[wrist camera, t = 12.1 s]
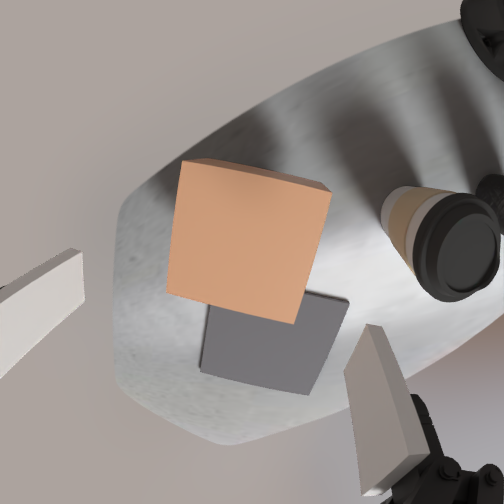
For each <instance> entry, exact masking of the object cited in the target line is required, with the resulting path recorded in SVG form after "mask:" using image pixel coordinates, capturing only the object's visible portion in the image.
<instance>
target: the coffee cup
mask: <svg viewBox="0 0 504 504" xmlns="http://www.w3.org/2000/svg"><path fill="white" fill-rule="evenodd" d="M381 224H382V227H383V230H384V231H385V233H386V234H387V236H388V237H389V238H390V240H391V242H392V244H393V246H394V247H395V249H396V250H397V251H398V253H399V254H400V256H401V257H402V258H403V260H404V261H405V263H406V264H407V265H408V267H409V268H410V270H411V271H412V272H413V274H414V275H415V276H416V278H417V280H418V282H419V284H420V285H421V286H422V288H423V289H424V290H425V291H426V292H428V293H429V294H430V295H431V296H432V297H434V298H435V299H437V300H439V301H442V302H456V301H460V300H463V299H465V298H467V297H469V296H470V295H472V294H473V293H475V292H476V291H478V290H481V289H483V288H485V287H486V286H488V285H489V284H490V283H491V281H492V280H493V278H494V277H495V275H496V273H497V271H498V268H499V264H500V243H501V233H500V226H499V222H498V219H497V216H496V214H495V212H494V211H493V209H492V208H491V207H490V206H489V205H488V204H487V203H486V202H485V201H483V200H481V199H479V198H478V197H476V196H474V195H472V194H468V193H456V192H452V191H446V190H440V189H433V188H427V187H411V186H403V187H399V188H397V189H395V190H394V191H392V192H391V193H390V194H389V195H388V196H387V198H386V199H385V201H384V203H383V205H382V209H381Z"/></svg>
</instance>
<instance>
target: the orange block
mask: <svg viewBox="0 0 504 504" xmlns="http://www.w3.org/2000/svg"><path fill="white" fill-rule="evenodd" d="M331 196H332V192H331V191H330V190H329V189H328V188H327V187H325V186H324V185H323V184H322V183H321V182H317V181H313V180H309V179H305V178H301V177H297V176H293V175H289V174H284V173H280V172H275V171H271V170H266V169H262V168H257V167H252V166H247V165H243V164H237V163H232V162H227V161H222V160H216V159H211V158H203V159H193V160H184V161H182V165H181V171H180V178H179V184H178V191H177V198H176V205H175V213H174V220H173V228H172V237H171V246H170V256H169V266H168V277H167V289H166V293H169V294H173V295H176V296H180V297H183V298H187V299H191V300H195V301H198V302H202V303H206V304H210V305H214V306H217V307H221V308H225V309H229V310H233V311H238V312H242V313H246V314H250V315H254V316H259V317H263V318H267V319H272V320H276V321H281V322H285V323H290V324H294V322H295V319H296V316H297V313H298V310H299V307H300V304H301V301H302V297H303V294H304V291H305V288H306V285H307V281H308V278H309V275H310V272H311V268H312V265H313V261H314V258H315V255H316V251H317V248H318V244H319V241H320V237H321V234H322V230H323V226H324V223H325V219H326V215H327V212H328V208H329V204H330V200H331Z"/></svg>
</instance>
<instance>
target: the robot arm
mask: <svg viewBox="0 0 504 504" xmlns="http://www.w3.org/2000/svg"><path fill="white" fill-rule="evenodd" d="M460 14H461V20H462V24H463V27H464V30H465V33H466V35H467V37H468V39H469V41H470V43H471V45H472V47H473V48H474V50H475V51H476V53H477V54H478V56H479V57H480V59H481V60H482V61H483V62H484V64H485V65H486V66H487V67H488V68H489V69H490V70H491V71H492V72H493V73H494V74H495V75H496V76H497V77H498V78H500V79H501V80H502V81H504V0H463V1H462V4H461V9H460ZM84 301H85V297H84V284H83V264H82V251H78V250H75V249H73V248H70V249H68V250H66V251H64V252H62V253H60V254H59V255H57V256H55V257H53V258H52V259H50V260H48V261H46V262H45V263H43V264H41V265H39V266H38V267H36V268H34V269H33V270H31V271H29V272H28V273H26V274H24V275H23V276H21V277H19V278H18V279H16V280H14V281H13V282H11V283H10V284H8V285H6V286H3V287H1V288H0V379H1V378H2V377H3V376H4V375H5V374H6V373H7V372H8V371H9V370H10V369H11V368H12V367H13V366H14V365H15V364H16V363H17V362H18V361H19V360H20V359H21V358H22V357H23V356H24V355H25V354H26V353H27V352H28V351H29V350H31V349H32V348H33V347H34V346H35V345H36V344H37V343H38V342H39V341H40V340H41V339H43V338H44V337H45V336H46V335H47V334H48V333H49V332H50V331H51V330H52V329H54V328H55V327H56V326H57V325H58V324H59V323H60V322H61V321H63V320H64V319H65V318H66V317H67V316H68V315H69V314H71V313H72V312H73V311H74V310H75V309H76V308H78V307H79V306H80V305H81V304H82V303H84ZM344 376H345V381H346V387H347V393H348V398H349V404H350V411H351V417H352V423H353V430H354V437H355V444H356V452H357V459H358V468H359V476H360V485H361V496H373V495H382V494H383V493H385V492H386V491H387V490H389V489H390V488H391V489H392V496H391V497H389V498H388V499H386V500H385V501H384V502H382V503H381V504H503V500H504V477H503V474H502V472H501V470H500V469H499V468H498V467H497V466H495V465H493V464H486V465H484V466H483V467H482V468H481V469H480V470H478V471H477V472H472V471H465V470H461V467H460V465H459V464H458V462H456V461H455V460H454V459H453V458H450V457H447V456H444V454H443V451H442V448H441V445H440V442H439V439H438V436H437V434H436V431H435V428H434V425H432V420H431V418H430V417H429V413H428V410H427V407H426V405H425V403H424V402H423V401H422V400H421V398H420V397H419V396H418V395H417V394H410V393H409V390H408V388H407V385H406V383H405V380H404V377H403V375H402V372H401V370H400V367H399V365H398V363H397V360H396V358H395V355H394V353H393V351H392V348H391V346H390V344H389V341H388V339H387V337H386V335H385V332H384V330H383V328H382V327H381V326H376V325H371V324H366V326H365V328H364V331H363V333H362V335H361V337H360V339H359V341H358V343H357V345H356V347H355V350H354V352H353V354H352V356H351V358H350V360H349V362H348V364H347V365H346V367H345V369H344Z"/></svg>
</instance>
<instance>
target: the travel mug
mask: <svg viewBox="0 0 504 504" xmlns="http://www.w3.org/2000/svg"><path fill="white" fill-rule="evenodd" d="M475 196H476V197H478V198H479V199H481V200H483V201H485V202H486V203H487V204H488V205H489V206H490V207H491V208H492V209H493V211H494V212H495V214H496V216H497V219H498V222H499V226H500V233H501V234H502V235H504V176H503V175H497V174H491V175H488V176H486V177H485V178H483V179H482V181H481V182H480V183H479V185H478V188H477V191H476V195H475Z"/></svg>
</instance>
